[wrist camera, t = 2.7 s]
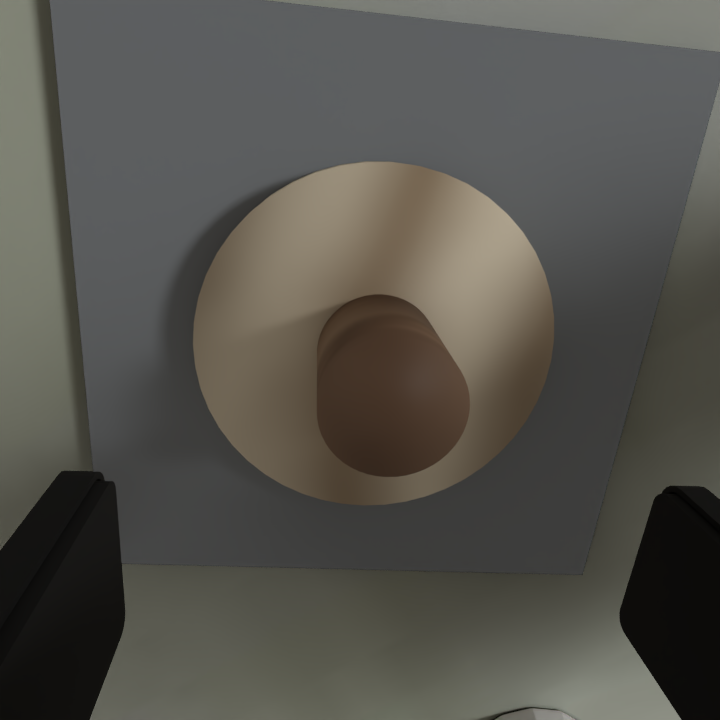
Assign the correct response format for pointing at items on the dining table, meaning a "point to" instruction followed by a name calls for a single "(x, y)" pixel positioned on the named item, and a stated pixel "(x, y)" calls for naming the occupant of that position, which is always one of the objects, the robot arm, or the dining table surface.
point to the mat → (342, 146)
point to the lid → (373, 333)
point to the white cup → (535, 715)
